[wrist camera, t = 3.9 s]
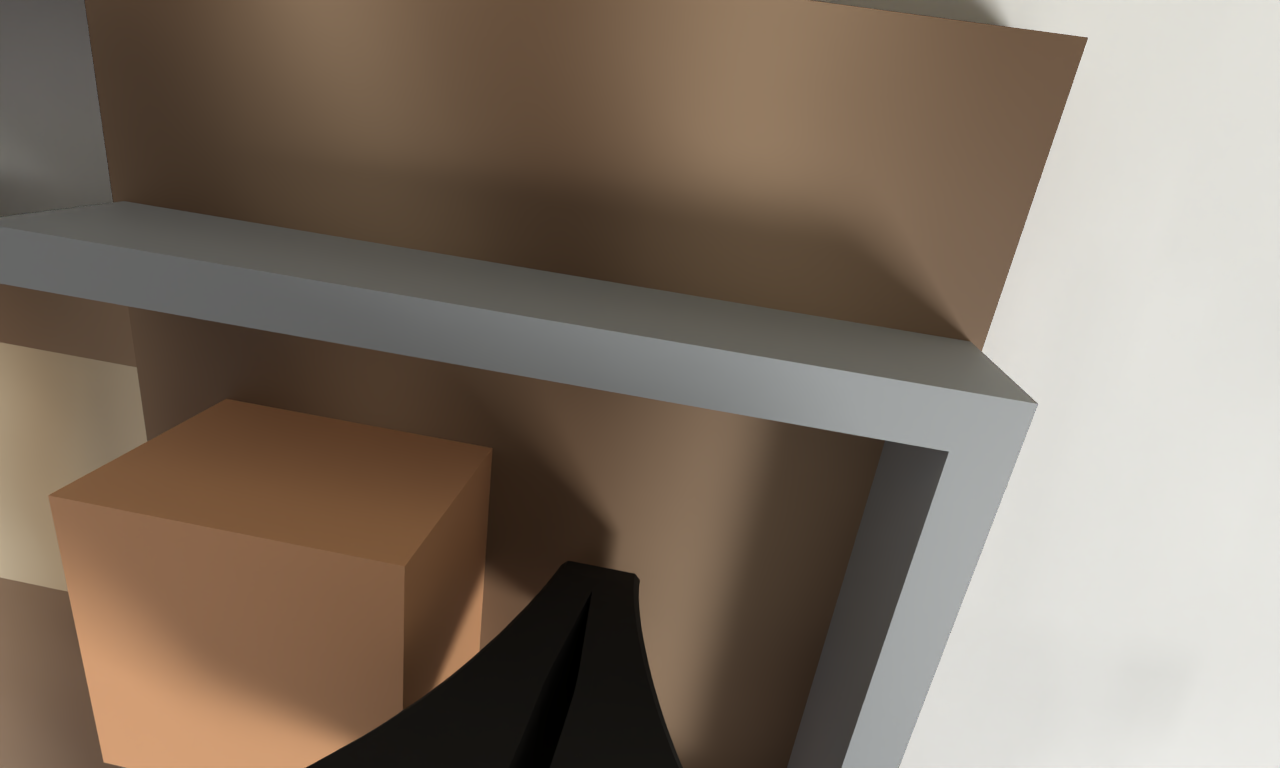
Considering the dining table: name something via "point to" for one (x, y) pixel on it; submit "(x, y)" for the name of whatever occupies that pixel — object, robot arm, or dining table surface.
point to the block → (270, 584)
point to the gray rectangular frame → (633, 365)
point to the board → (555, 242)
